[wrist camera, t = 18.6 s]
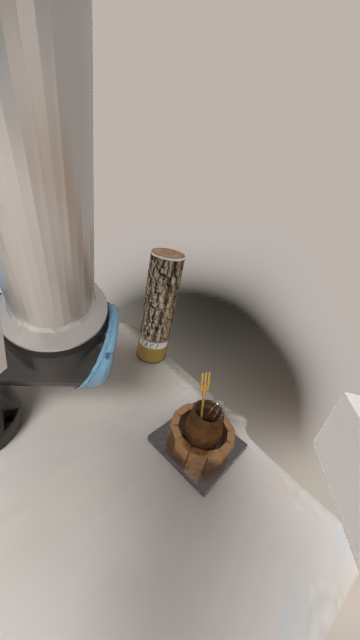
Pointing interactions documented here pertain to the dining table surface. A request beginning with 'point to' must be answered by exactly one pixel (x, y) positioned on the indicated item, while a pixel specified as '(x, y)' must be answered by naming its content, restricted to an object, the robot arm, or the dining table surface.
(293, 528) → the dining table surface
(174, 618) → the dining table surface
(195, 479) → the collar plate
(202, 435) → the utensil holder
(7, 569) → the dining table surface
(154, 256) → the paper tube
